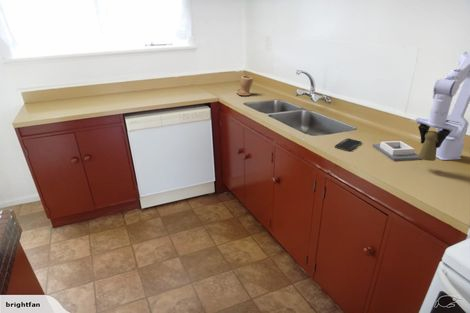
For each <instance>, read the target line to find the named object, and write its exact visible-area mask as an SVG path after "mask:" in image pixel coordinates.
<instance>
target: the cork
mask: <svg viewBox="0 0 470 313" xmlns="http://www.w3.org/2000/svg"><path fill="white" fill-rule="evenodd" d="M438 137H439V133H438V132H436V131H435V130H429V131H427V132H426V133H425V141H424V143H423V144H422V147H421V149H420V151H419V154H418V155H419V156H418V157H419V158H421V159H420V160H423V161H429V162H431V161H432V162H433V161H436V159H437V157H436V151H437V148H436V144H437V142H438Z"/></svg>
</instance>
